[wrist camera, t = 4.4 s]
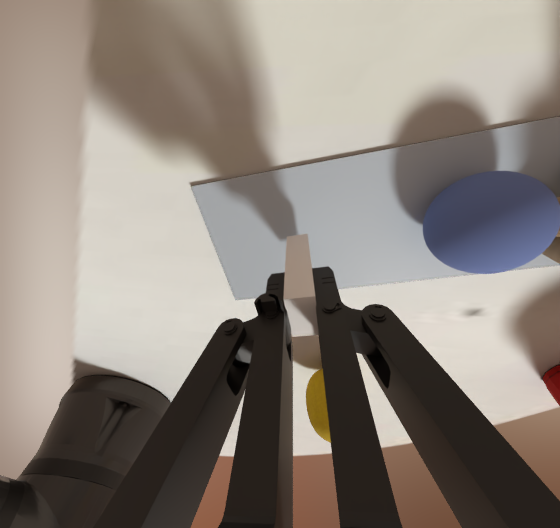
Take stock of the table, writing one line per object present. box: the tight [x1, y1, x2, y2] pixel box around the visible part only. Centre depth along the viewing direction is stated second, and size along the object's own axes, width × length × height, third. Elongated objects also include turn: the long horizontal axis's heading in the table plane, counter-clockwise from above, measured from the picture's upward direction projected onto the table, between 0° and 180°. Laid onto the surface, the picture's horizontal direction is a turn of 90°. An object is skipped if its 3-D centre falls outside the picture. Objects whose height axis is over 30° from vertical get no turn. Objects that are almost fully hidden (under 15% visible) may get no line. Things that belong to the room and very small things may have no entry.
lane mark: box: [191, 116, 560, 300], centre depth 17 cm, size 29×11×1 cm, turn 101°
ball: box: [423, 171, 560, 274], centre depth 13 cm, size 6×6×6 cm
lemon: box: [306, 369, 331, 442], centre depth 24 cm, size 6×6×8 cm
